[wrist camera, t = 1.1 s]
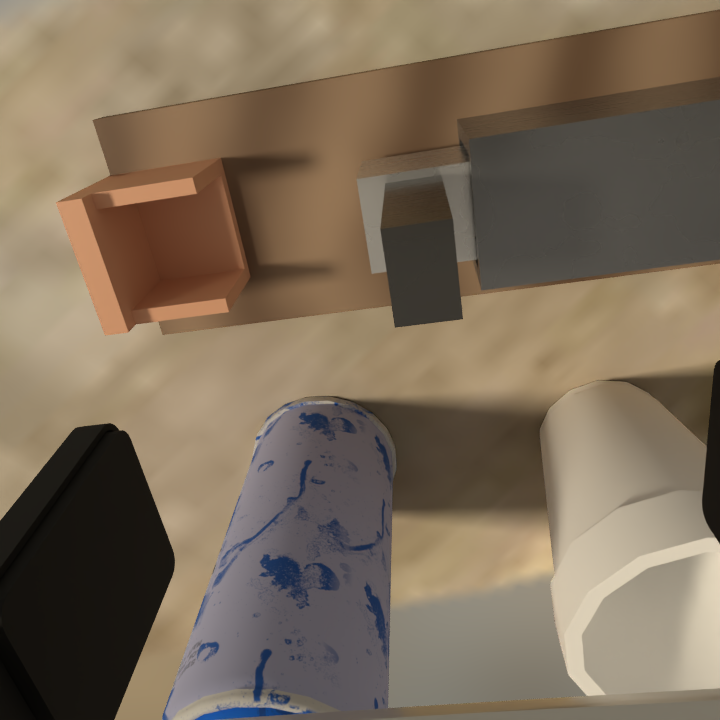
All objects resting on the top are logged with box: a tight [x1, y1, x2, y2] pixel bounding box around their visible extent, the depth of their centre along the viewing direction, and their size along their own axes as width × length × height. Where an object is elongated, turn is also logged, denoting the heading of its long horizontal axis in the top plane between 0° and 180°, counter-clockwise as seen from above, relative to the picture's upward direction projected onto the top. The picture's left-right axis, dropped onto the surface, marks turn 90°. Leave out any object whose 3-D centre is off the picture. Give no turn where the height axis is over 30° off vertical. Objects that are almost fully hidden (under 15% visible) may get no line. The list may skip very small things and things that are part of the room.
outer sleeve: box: [457, 77, 720, 291], centre depth 24 cm, size 12×5×5 cm, turn 99°
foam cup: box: [539, 381, 720, 696], centre depth 28 cm, size 10×9×13 cm
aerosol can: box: [162, 396, 396, 720], centre depth 27 cm, size 8×8×20 cm
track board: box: [93, 10, 720, 335], centre depth 28 cm, size 27×10×1 cm, turn 99°
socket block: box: [56, 158, 251, 335], centre depth 27 cm, size 5×5×5 cm
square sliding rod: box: [357, 145, 478, 327], centre depth 22 cm, size 16×4×10 cm, turn 99°
